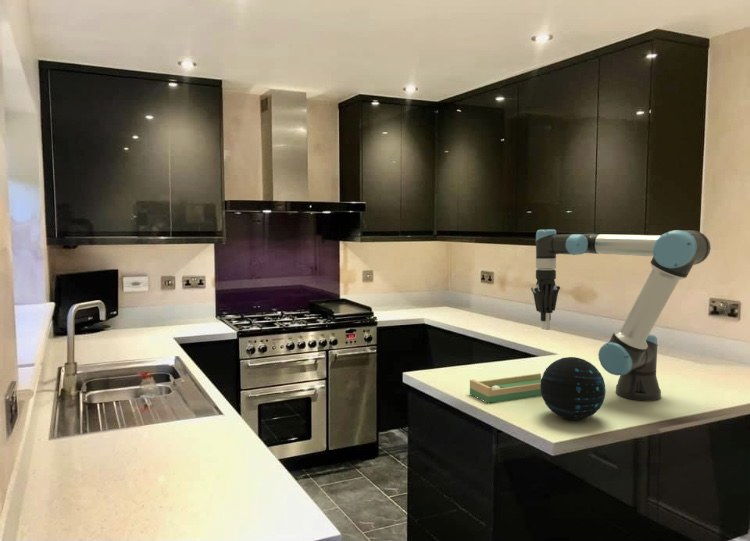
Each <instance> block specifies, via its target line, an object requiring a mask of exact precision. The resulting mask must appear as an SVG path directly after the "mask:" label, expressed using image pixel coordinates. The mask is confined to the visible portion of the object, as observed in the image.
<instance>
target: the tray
mask: <svg viewBox="0 0 750 541" xmlns="http://www.w3.org/2000/svg"><path fill="white" fill-rule="evenodd" d="M541 379H542V373H540V372H538V373H531V374H524V375H517V376H509V377H500V378H494V379H486V380H479V381H478V380H477V379H476V380H475V379H470V380H469V395H470V394H472V395H474V396H476V397H478V398H480V399H482V400H484V401H486V402H488V403H489V404H491V403H490V402H495V403H500V402H499V401H502V402H507V401H506V400H508V401H513V400H514V399H515V400H521V398H522V399H527V398H533V397H542V394H541V388H540V385H541ZM495 385H496V386H499V387H500V389H493V390H492V388H491V387H492V386H495ZM472 395H471V396H472ZM474 396H473V397H474ZM476 397H475V398H476ZM478 398H477V399H478ZM480 399H479V400H480ZM482 400H481V401H482ZM515 400H514V401H515ZM484 401H483V402H484ZM486 402H485V403H486ZM488 403H487V404H488Z"/></svg>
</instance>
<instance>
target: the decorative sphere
mask: <svg viewBox="0 0 750 541" xmlns="http://www.w3.org/2000/svg"><path fill="white" fill-rule="evenodd" d="M540 388H541V394H542V395H541V397H542V400H543V402H544V404H545V405H546V406H547V407H548V409H549V410H550V411H551V412H552V413H554V414H555V415H556V416H558V417H561V419H565V420H570V421H581V420H584V419H587V418H589V417H592V416H593V415H595V414H596V413H597V412H598V411H599V410H600V409H601V407H602V406H603V405H604V401H605V398H606V393H607V392H606V390H607V389H606V384H605V379H604V376H603V375H602V373H601V372H600V371H599V369H598V368H597V367H596V366H595V365H594V364H592V363H591V362H589V361H588V360H586V359H584V358H581V357H576V356H575V357H574V356H567V357H566V356H565V357H561V358H559V359H557V360H555V361H552V362H551V363H550V364H549V365H548V366H547V367H546V368H545V370H544V371H543V373H542V375H541V385H540Z"/></svg>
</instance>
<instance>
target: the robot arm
mask: <svg viewBox="0 0 750 541" xmlns="http://www.w3.org/2000/svg"><path fill="white" fill-rule="evenodd" d="M711 246H712V245H711V242H710V240H709V238H708V237H707V236H706V235H705V234H704V233H702V232H700V231H697V230H692V229H690V230H689V229H688V230H682V229H681V230H680V229H675V230H669V231H668V232H665V233H663V234H660V235H659V234H655V235H654V234H648V235H647V234H615V233H614V234H610V233H608V234H603V233H600V234H599V233H571V234H569V233H567V234H566V233H565V234H557V230H556V229H538V230H537V231H536V233H535V269H536V270H535V279H536V280H537V281H536V283H535V286H534V287H531V288H530V290H531V292H532V294H533V300H534V305H535V310H536V312H538V313H540V322H541V330H545V331H550V330H551V329H550V321H551V318H552V317H551V314H553V312H554V311H556V306H557V301H558V295H559V291H560V289H561V286H560V285H556V282H555V281H556V279H557V270H556V268H557V255H572V256H578V255H579V256H580V255H584V254H593V255H594V254H597V255H600V254H601V255H617V256H636V257H638V256H639V257H652V259H651V260H650V262H649V263H650V266H651V268H652V269H651V271H650V273H649V275H648V277H647V278H646V280H645V281H644V284H643V286H642V288H641V290H640V292H639V294H638V296H637V298H636V299H635V302H634V303H633V306H631V309H630V311H629V313H628V315H627V317H626V318H625V321H624V322H623V324H622V326H621V328H618V329H614V331H613V333H612V335H611V337H610V339H609V341H608V342H606V343H604V344H603V345H602V346H601V347H600V348H599V350H598V356H597V357H598V361H599V362H600V366H601V367H602V368H603V370H604V371H606V372H607V373H608V374H610V375H613V376H619V377H618V381H617V383H616V386H615V394H616V395H617V396H619V397H622V398H625V399H629V400H634V401H635V400H636V401H643V402H647V401H649V402H650V401H657V400H660V399H661V398H662V390H661V389H660V384H659V381H658V378H657V361H658V359H657V358H658V346H659V345H658V338H657V336H656V335H654V334H652V333H651V331H652V330H653V329H654V326H655V325H656V322H657V321H658V319H659V317H660V315H661V314H662V312H663V310H664V308H665V307H666V305H667V303H668V301H669V299H670V297H671V295H672V294H673V292H674V290H675V288H676V286H677V284H678V283H679V281H680V280H683V279H686V278H687V277H688V275H689V274H690V272H691V270H692V268H693V266H695V265H699V264H701V263H703V262H704V261H705V260H706V259H707V258H708V257H709V255H710V253H711ZM650 333H651V334H650Z"/></svg>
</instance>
